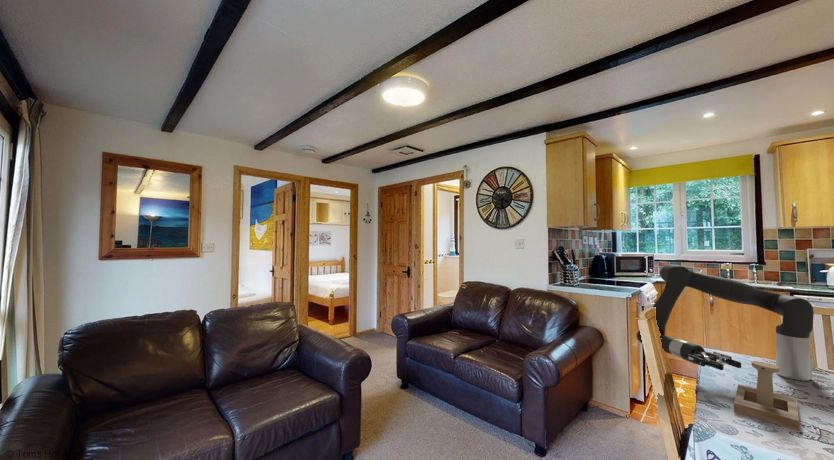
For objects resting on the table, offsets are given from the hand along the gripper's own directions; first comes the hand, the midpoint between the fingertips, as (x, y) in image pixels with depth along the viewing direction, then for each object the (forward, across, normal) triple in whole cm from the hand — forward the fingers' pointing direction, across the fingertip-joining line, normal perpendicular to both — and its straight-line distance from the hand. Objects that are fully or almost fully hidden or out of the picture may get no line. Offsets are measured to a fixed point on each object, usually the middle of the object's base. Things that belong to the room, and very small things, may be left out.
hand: (731, 366), depth 119 cm
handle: (+10, 0, +11) cm, 14 cm away
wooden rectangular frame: (+10, 0, +10) cm, 14 cm away
